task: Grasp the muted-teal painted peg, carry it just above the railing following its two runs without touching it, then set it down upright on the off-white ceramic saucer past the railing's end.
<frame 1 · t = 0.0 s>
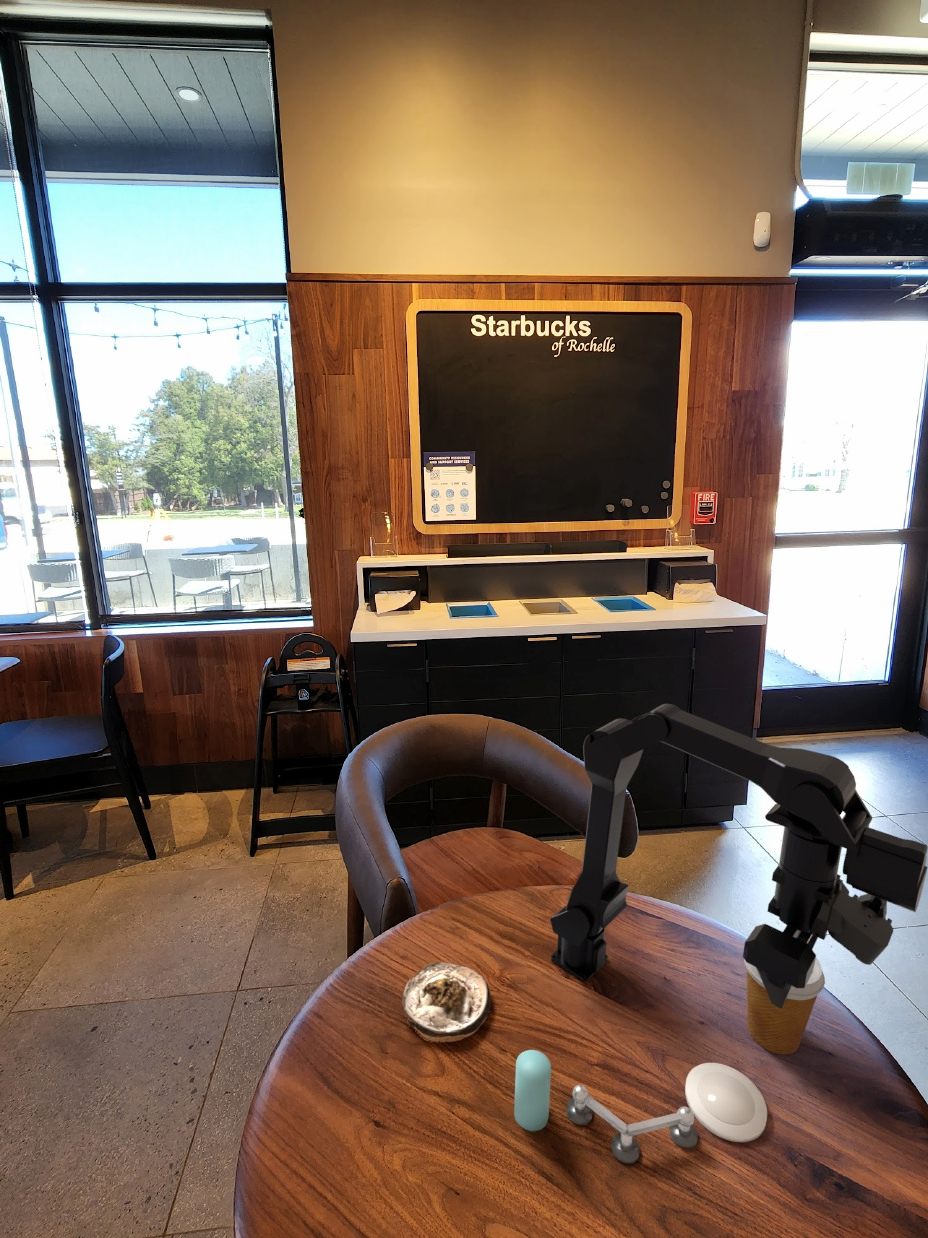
hand: (789, 982, 74), 15 cm above the table, fingers open, 9 cm apart
peg: (531, 1114, 73), on the table
saucer: (724, 1103, 75), on the table
disposable coffee cup: (772, 1035, 84), on the table
railing: (630, 1123, 72), on the table
sushi roll: (446, 1008, 88), on the table
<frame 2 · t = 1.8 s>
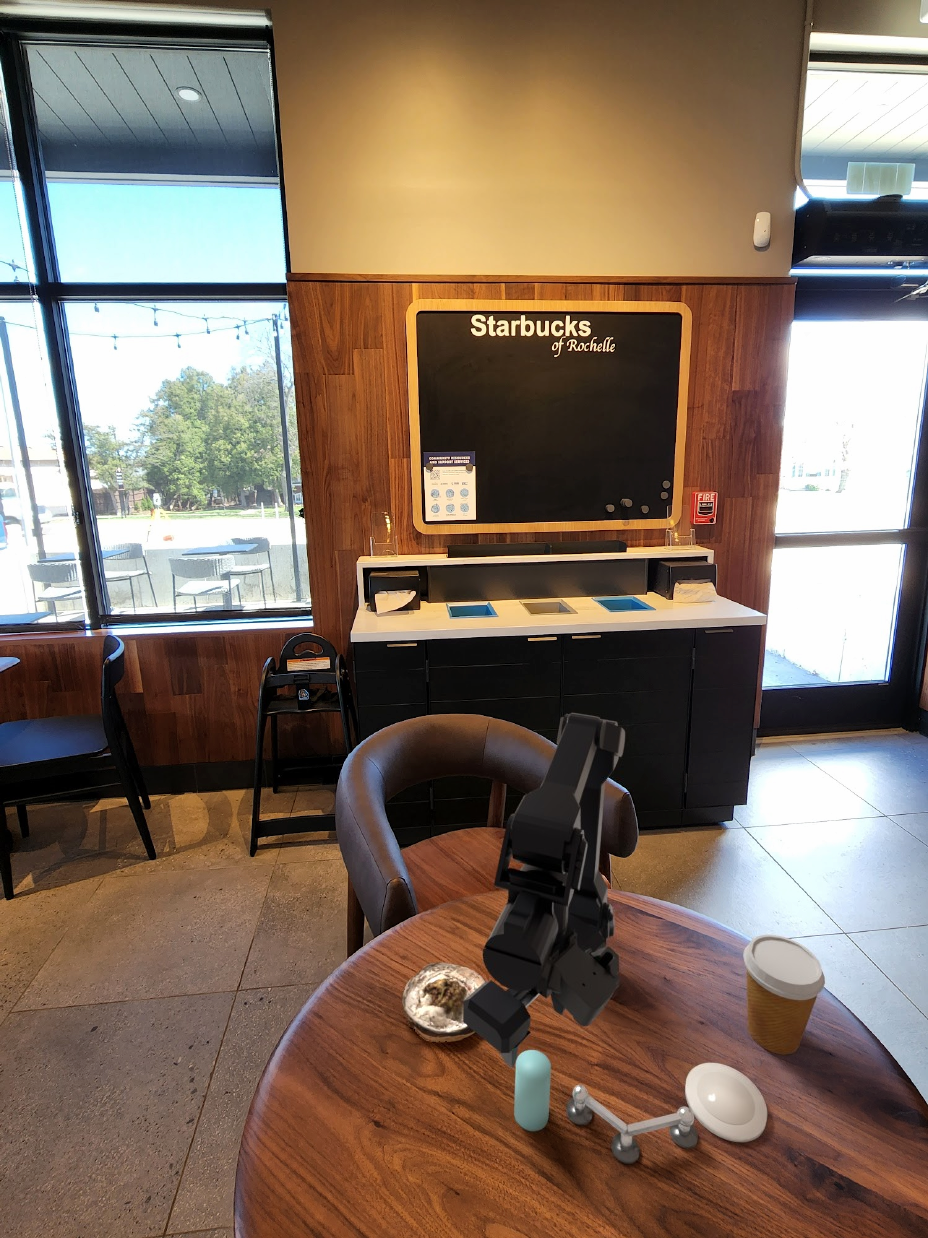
hand: (535, 1037, 71), 11 cm above the table, fingers open, 9 cm apart
nothing on the table moved.
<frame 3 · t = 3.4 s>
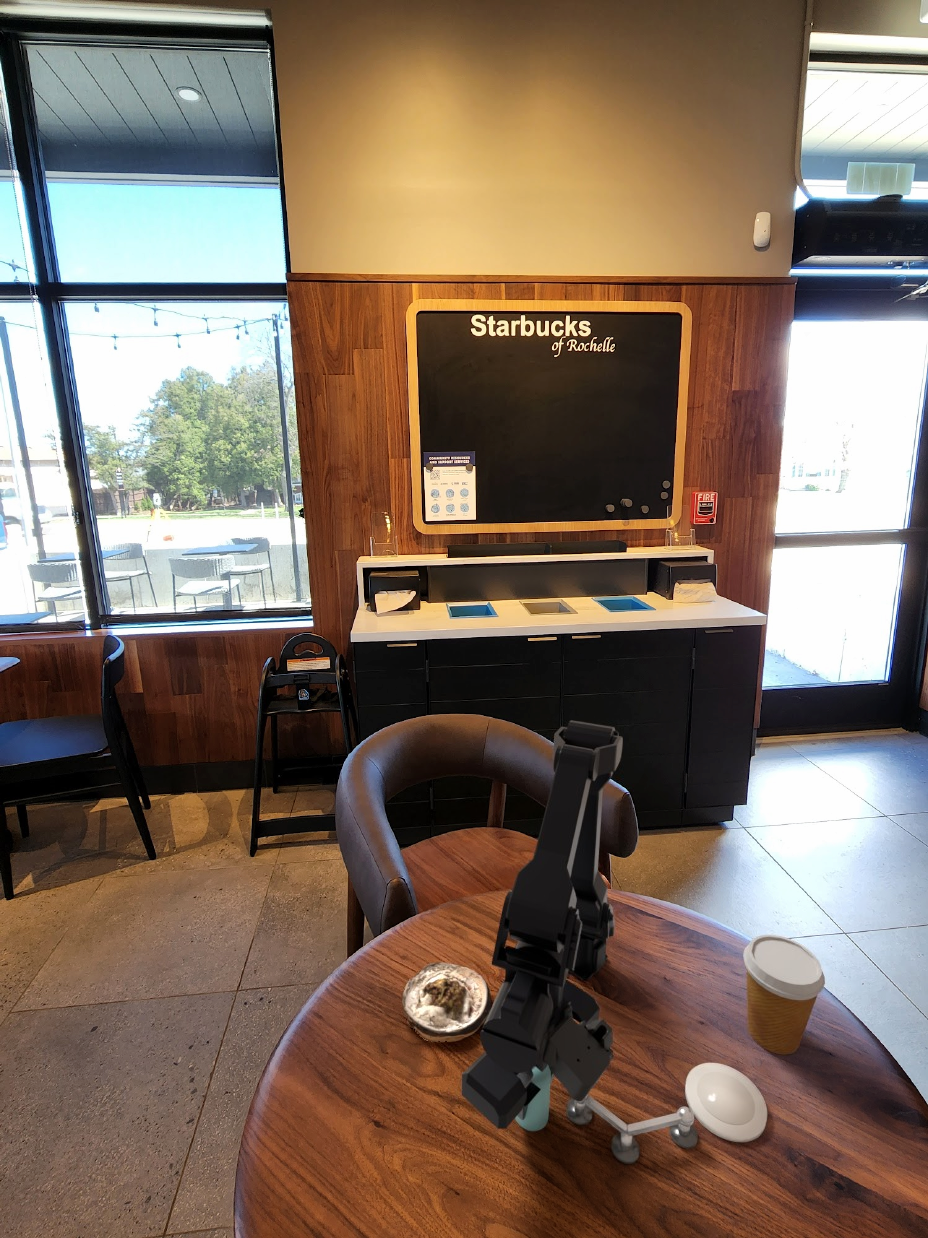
hand: (531, 1103, 73), 2 cm above the table, fingers closed on peg, 4 cm apart
peg: (531, 1113, 73), on the table, touching gripper
everything else where it was.
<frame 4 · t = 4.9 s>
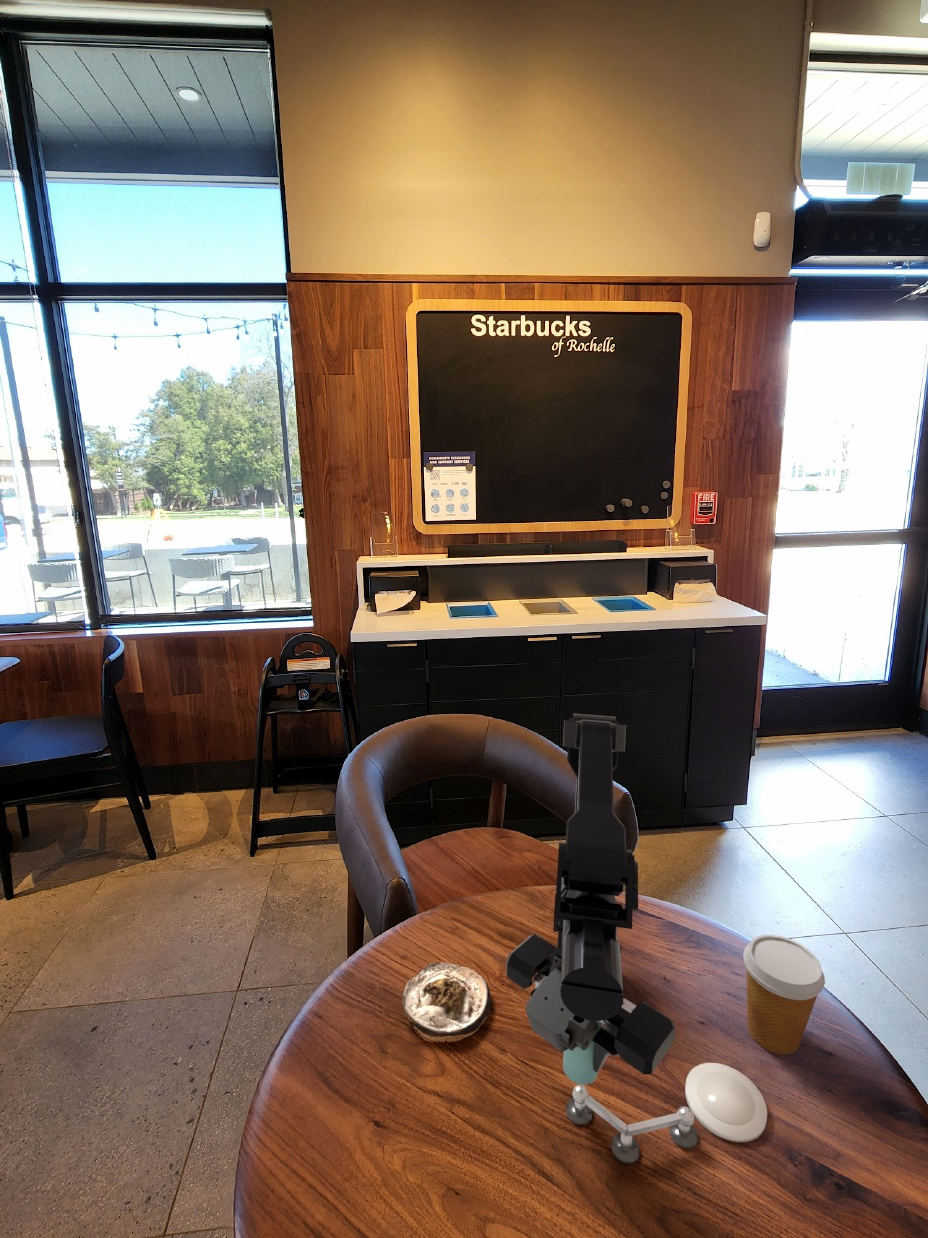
hand: (581, 1057, 72), 8 cm above the table, fingers closed on peg, 4 cm apart
peg: (580, 1068, 72), point 6 cm above the table, touching gripper
everything else where it was.
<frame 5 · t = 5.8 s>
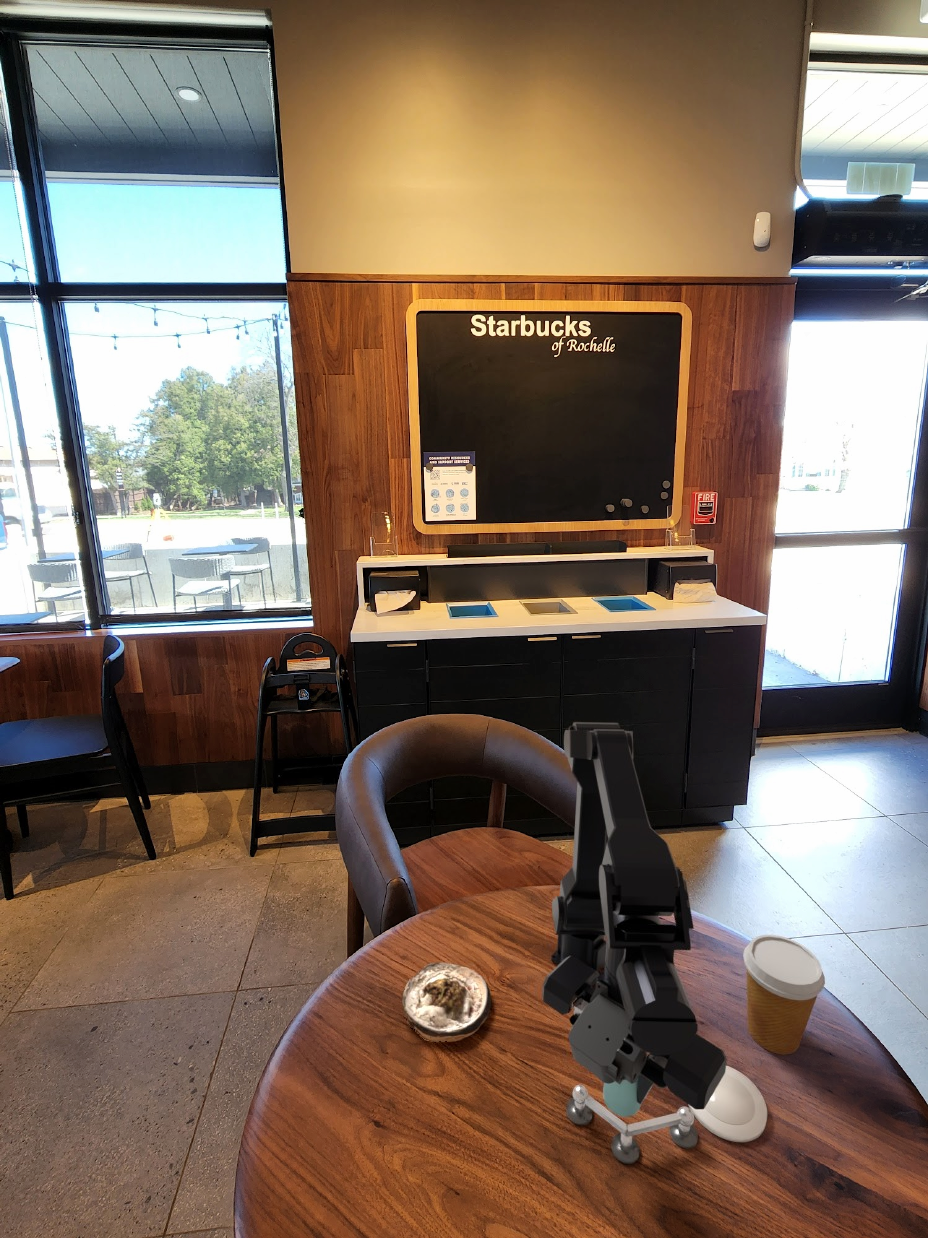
hand: (622, 1087, 68), 8 cm above the table, fingers closed on peg, 4 cm apart
peg: (621, 1098, 69), point 7 cm above the table, touching gripper
everything else where it was.
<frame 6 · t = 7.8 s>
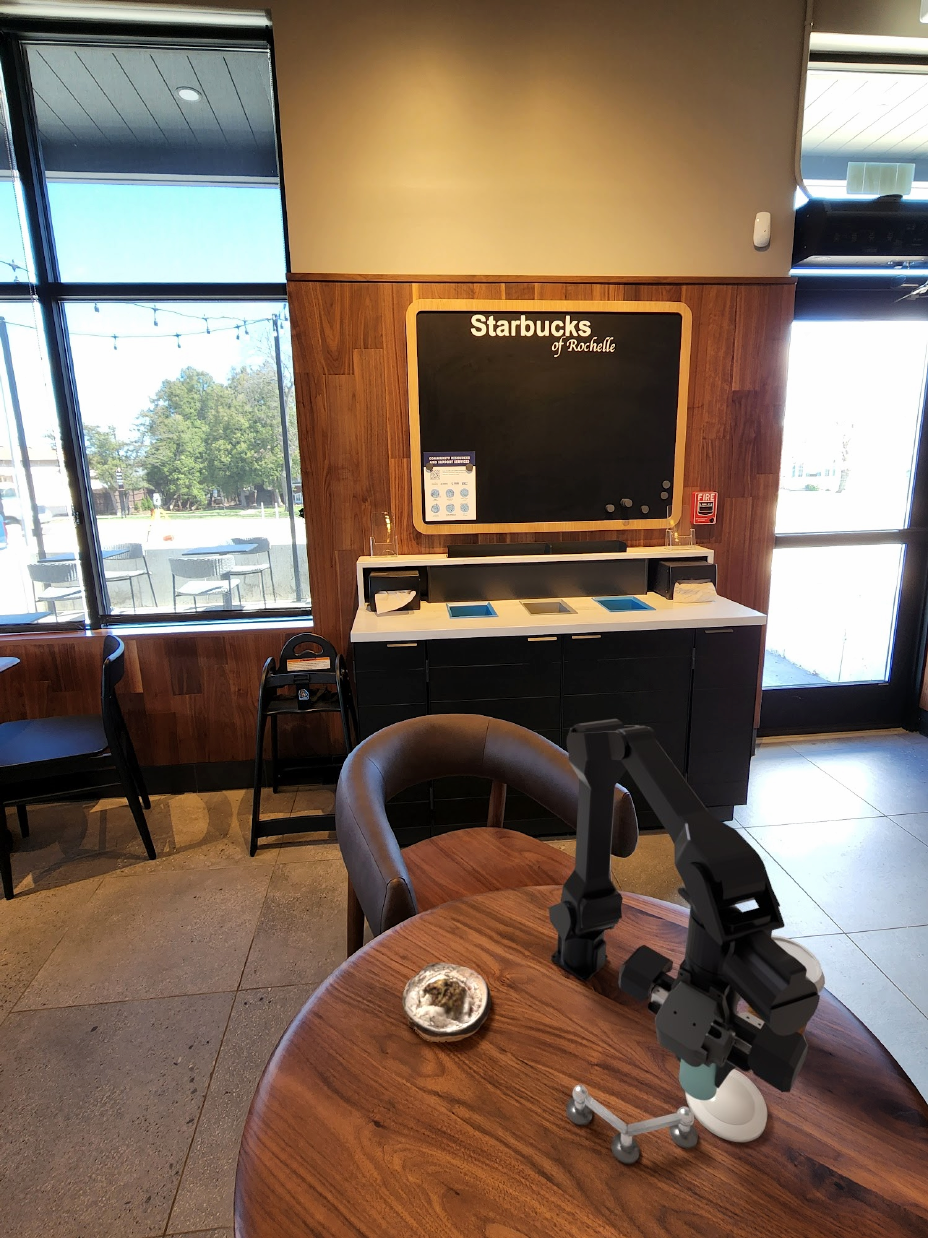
hand: (699, 1072, 70), 8 cm above the table, fingers closed on peg, 4 cm apart
peg: (697, 1083, 71), point 6 cm above the table, touching gripper
everything else where it was.
when the fingers open (3 cm above the table, at t = 9.5 s): peg drops 1 cm, resting on saucer.
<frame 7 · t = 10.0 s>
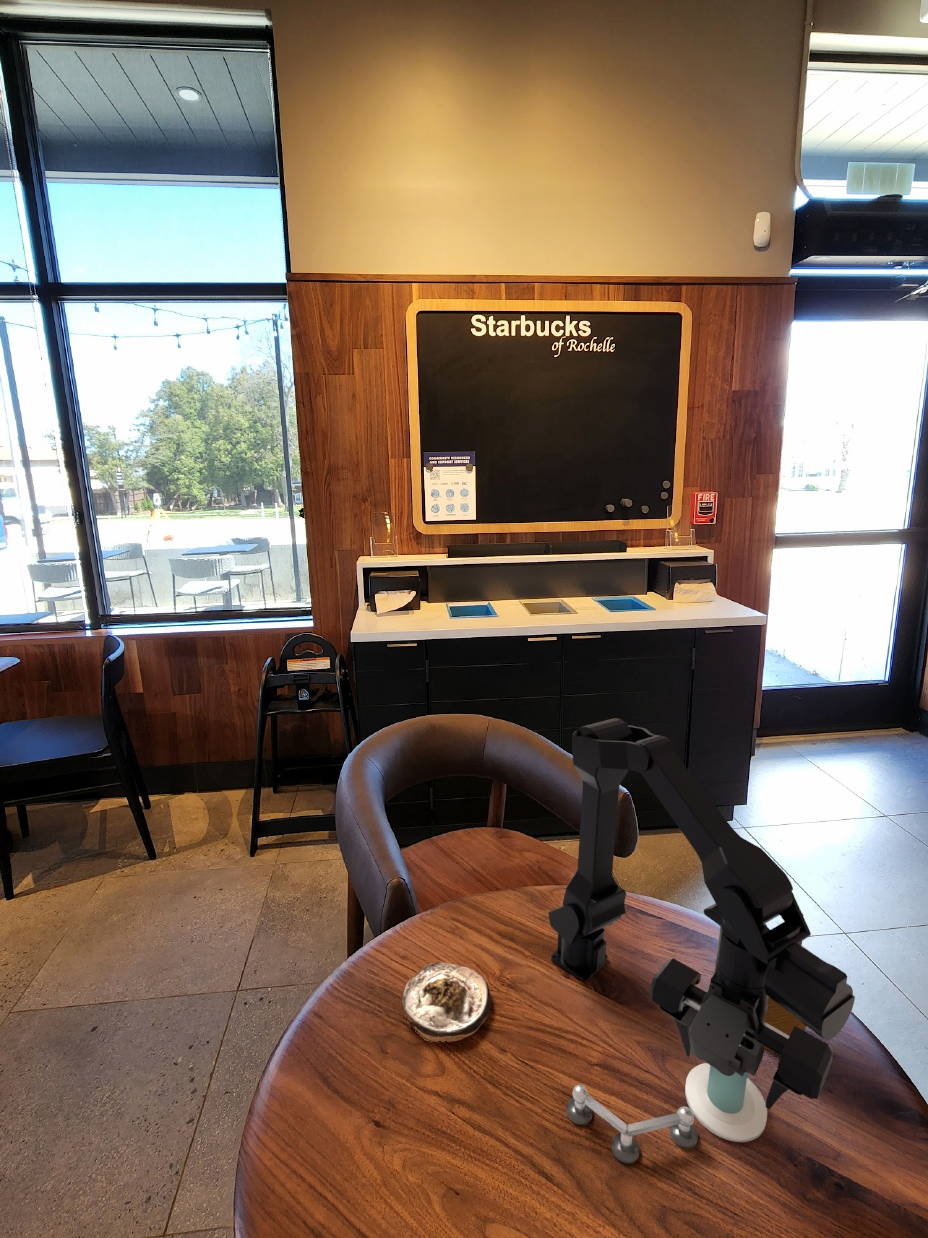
hand: (727, 1079, 74), 3 cm above the table, fingers open, 9 cm apart
peg: (725, 1096, 75), point 1 cm above the table, touching saucer
everything else where it was.
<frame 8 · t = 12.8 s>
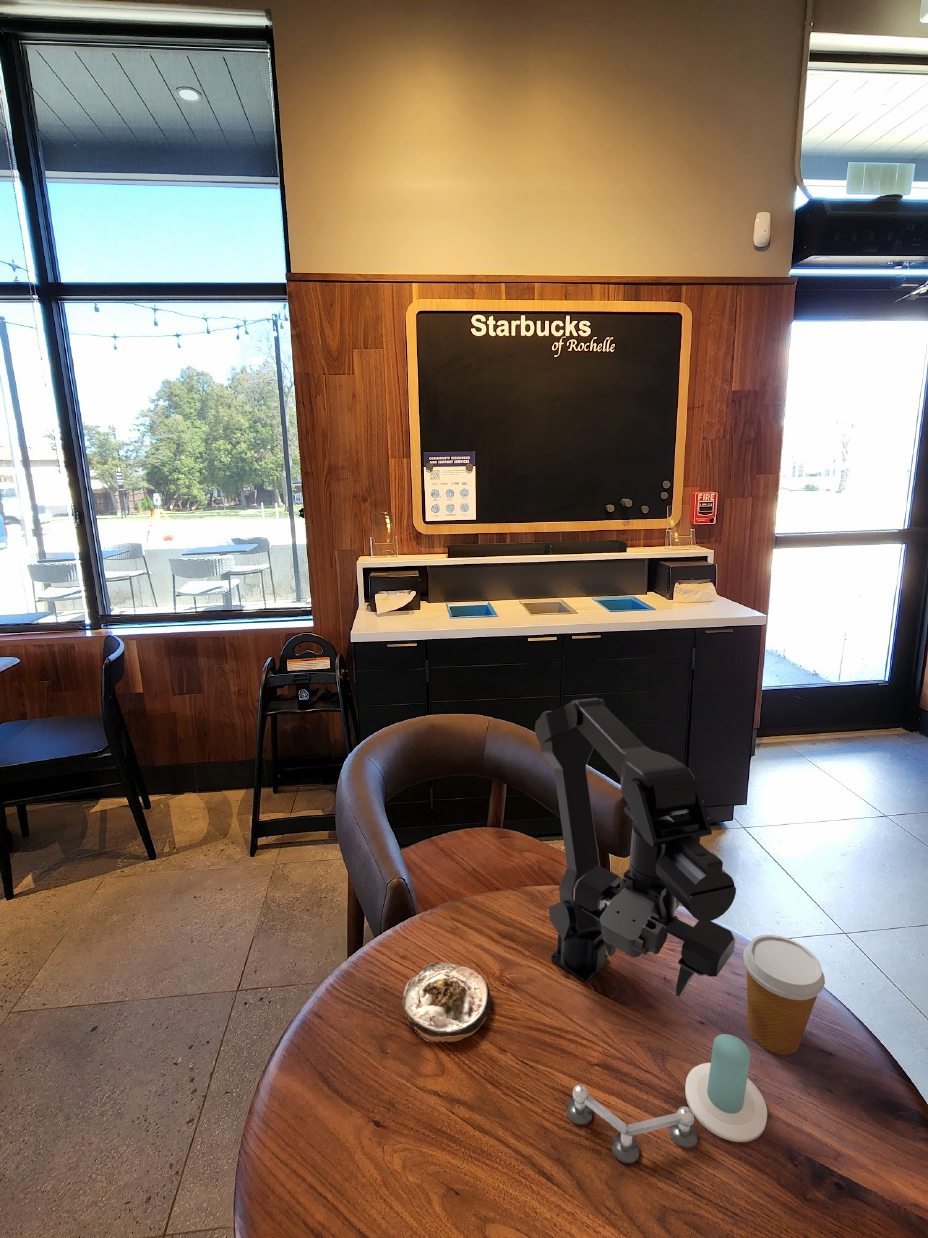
hand: (644, 973, 79), 12 cm above the table, fingers open, 9 cm apart
nothing on the table moved.
at the end: peg 0.1 cm from the saucer (horizontally); peg tilted 0°; peg touching saucer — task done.
